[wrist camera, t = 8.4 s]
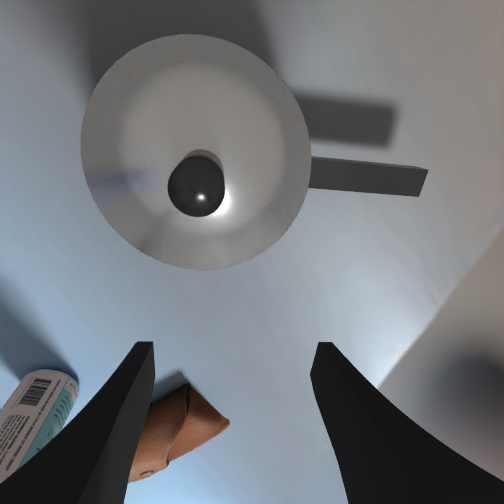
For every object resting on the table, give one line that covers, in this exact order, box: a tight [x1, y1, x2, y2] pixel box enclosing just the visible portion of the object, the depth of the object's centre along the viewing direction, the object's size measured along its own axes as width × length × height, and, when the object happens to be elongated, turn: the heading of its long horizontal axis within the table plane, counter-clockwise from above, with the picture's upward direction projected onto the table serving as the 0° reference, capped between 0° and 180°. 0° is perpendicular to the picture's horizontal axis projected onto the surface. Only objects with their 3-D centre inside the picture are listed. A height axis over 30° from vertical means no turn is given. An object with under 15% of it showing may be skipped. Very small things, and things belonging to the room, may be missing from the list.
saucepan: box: [308, 156, 428, 197], centre depth 17 cm, size 18×10×4 cm, turn 84°
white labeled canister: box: [0, 369, 79, 483], centre depth 20 cm, size 5×5×12 cm
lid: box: [81, 34, 311, 270], centre depth 13 cm, size 11×11×4 cm
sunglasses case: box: [128, 384, 230, 483], centre depth 29 cm, size 18×7×7 cm, turn 123°
